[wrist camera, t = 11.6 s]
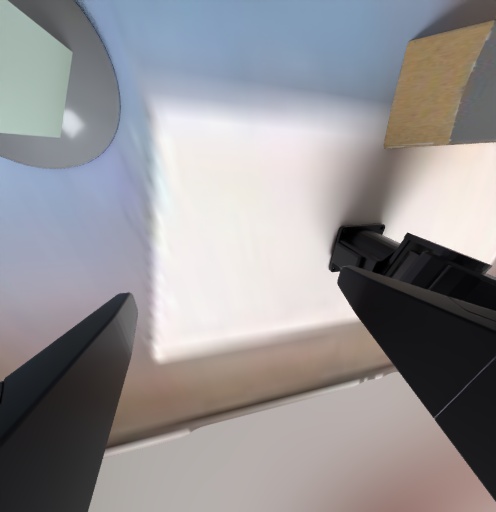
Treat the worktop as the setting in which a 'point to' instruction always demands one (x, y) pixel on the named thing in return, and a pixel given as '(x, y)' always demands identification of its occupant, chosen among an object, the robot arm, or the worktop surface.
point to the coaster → (72, 93)
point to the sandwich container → (446, 90)
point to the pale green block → (31, 76)
